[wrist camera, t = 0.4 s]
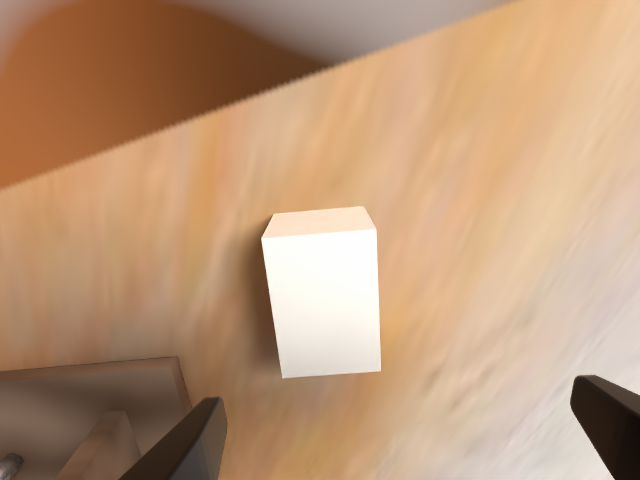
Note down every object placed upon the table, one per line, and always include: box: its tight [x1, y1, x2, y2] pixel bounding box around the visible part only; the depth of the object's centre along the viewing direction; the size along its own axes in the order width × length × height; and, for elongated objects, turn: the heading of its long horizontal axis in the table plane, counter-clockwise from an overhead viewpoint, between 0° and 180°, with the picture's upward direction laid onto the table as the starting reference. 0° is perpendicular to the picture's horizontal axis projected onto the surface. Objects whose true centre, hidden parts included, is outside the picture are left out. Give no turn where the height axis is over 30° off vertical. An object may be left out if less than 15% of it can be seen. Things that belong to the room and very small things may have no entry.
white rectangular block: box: [261, 206, 381, 378], centre depth 18 cm, size 8×5×4 cm, turn 5°
